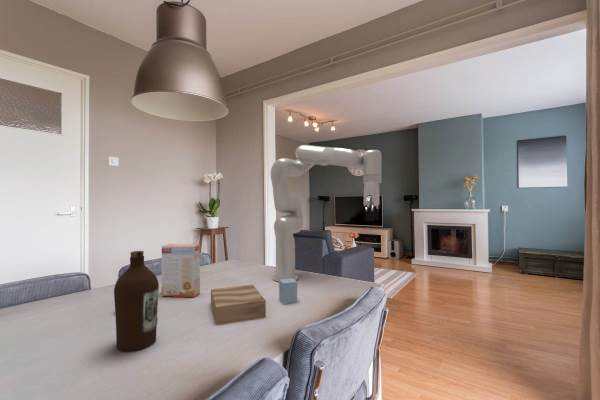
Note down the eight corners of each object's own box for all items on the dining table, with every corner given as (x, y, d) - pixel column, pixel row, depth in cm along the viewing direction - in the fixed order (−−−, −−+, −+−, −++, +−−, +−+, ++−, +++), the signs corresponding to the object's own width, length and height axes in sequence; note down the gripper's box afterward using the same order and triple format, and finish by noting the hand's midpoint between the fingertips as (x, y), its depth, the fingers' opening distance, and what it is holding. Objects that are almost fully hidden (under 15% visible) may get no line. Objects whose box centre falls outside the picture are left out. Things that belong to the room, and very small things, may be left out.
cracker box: (200, 293, 122) (200, 243, 122) (193, 298, 116) (194, 245, 116) (169, 292, 123) (169, 243, 123) (160, 297, 117) (161, 245, 117)
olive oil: (104, 353, 74) (104, 255, 74) (130, 334, 84) (130, 248, 84) (144, 353, 73) (145, 255, 73) (165, 334, 84) (166, 248, 84)
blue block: (279, 300, 114) (279, 279, 114) (292, 298, 116) (292, 278, 116) (283, 304, 108) (283, 283, 108) (297, 302, 110) (297, 281, 110)
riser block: (210, 304, 109) (210, 289, 109) (252, 299, 115) (252, 284, 115) (216, 325, 91) (216, 306, 91) (265, 318, 97) (265, 300, 97)
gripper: (368, 181, 132) (368, 218, 132) (358, 178, 116) (358, 221, 116) (384, 180, 128) (385, 219, 128) (377, 177, 113) (377, 221, 113)
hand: (372, 220), depth 122 cm, fingers open, 9 cm apart
